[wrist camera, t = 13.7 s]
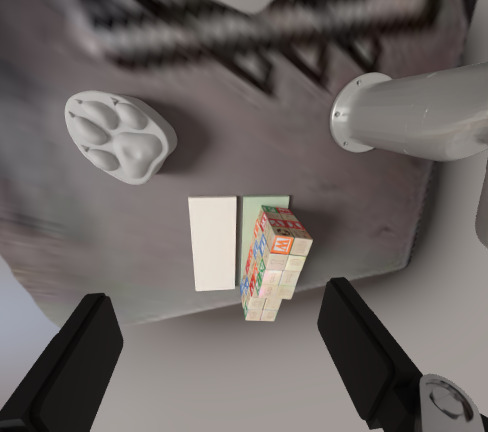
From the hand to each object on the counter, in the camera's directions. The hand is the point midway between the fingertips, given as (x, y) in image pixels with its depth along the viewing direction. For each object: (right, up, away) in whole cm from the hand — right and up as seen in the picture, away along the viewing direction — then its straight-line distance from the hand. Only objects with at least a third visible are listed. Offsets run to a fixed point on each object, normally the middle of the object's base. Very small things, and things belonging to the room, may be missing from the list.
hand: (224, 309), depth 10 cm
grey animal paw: (-18, +18, +27) cm, 37 cm away
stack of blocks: (+5, -3, +38) cm, 39 cm away
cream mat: (-6, -2, +37) cm, 38 cm away
